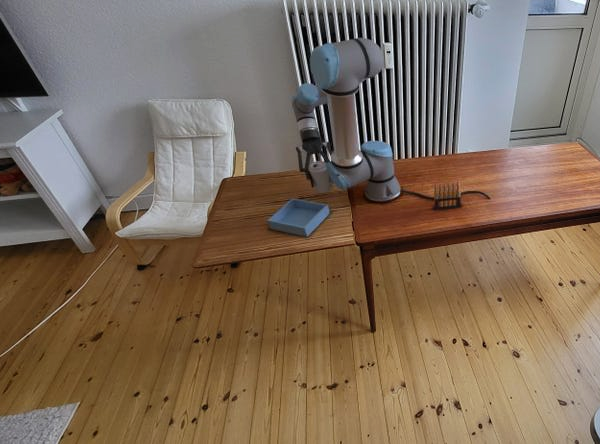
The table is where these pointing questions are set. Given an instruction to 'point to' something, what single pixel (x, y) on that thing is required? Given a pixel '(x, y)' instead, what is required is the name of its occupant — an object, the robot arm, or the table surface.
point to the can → (320, 177)
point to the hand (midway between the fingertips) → (323, 184)
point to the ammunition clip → (451, 199)
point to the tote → (299, 217)
